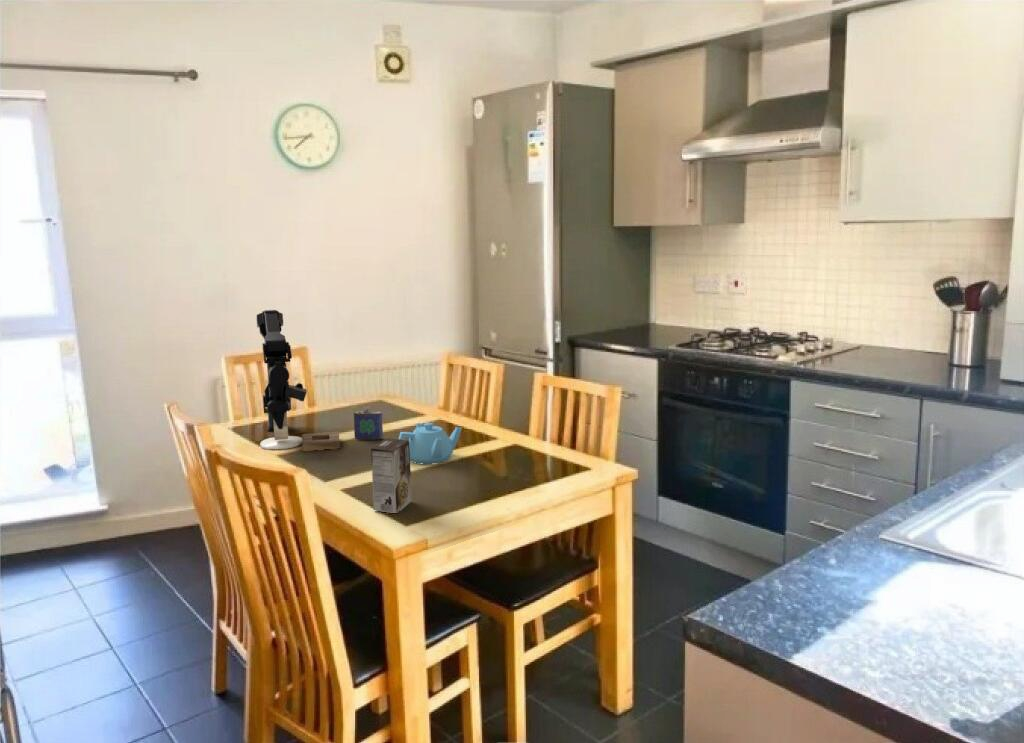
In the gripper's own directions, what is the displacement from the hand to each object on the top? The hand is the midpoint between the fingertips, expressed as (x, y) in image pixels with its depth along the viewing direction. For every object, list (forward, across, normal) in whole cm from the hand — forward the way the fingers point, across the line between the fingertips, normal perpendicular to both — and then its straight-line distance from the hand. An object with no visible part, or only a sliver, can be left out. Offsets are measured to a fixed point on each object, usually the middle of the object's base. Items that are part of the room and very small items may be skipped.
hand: (280, 427), depth 243 cm
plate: (+6, 0, 0) cm, 6 cm away
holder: (+6, -5, -12) cm, 14 cm away
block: (+4, 0, 0) cm, 4 cm away
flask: (+6, -2, -27) cm, 28 cm away
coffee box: (+6, -65, -28) cm, 71 cm away
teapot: (+6, -28, -43) cm, 52 cm away
